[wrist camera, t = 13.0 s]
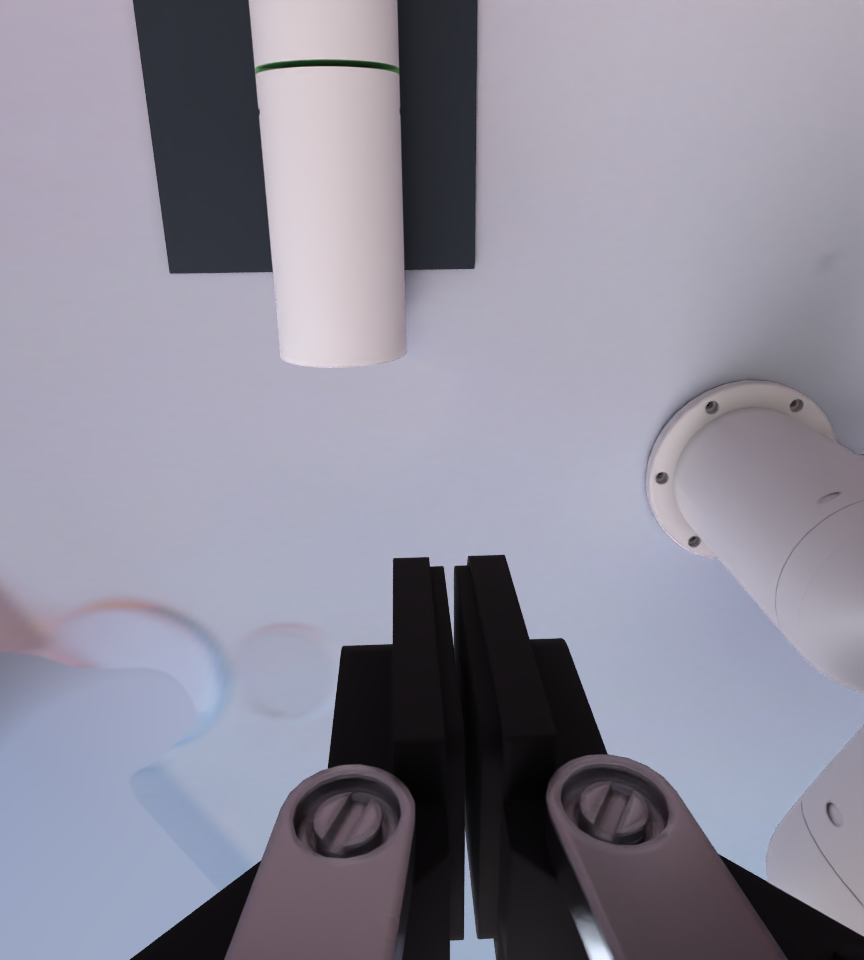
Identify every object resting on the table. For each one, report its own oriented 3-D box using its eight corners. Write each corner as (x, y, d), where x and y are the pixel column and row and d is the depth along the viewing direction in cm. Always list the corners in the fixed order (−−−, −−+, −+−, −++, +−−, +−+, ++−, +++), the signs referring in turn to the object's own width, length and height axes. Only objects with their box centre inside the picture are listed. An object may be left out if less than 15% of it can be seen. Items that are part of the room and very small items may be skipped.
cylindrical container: (238, -171, 37) (283, 343, 46) (220, -248, 30) (277, 370, 39) (385, -165, 37) (400, 338, 47) (399, -238, 31) (413, 364, 40)
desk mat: (477, -142, 38) (478, -146, 38) (473, 267, 45) (474, 268, 45) (115, -144, 37) (112, -147, 37) (171, 272, 45) (169, 273, 44)
